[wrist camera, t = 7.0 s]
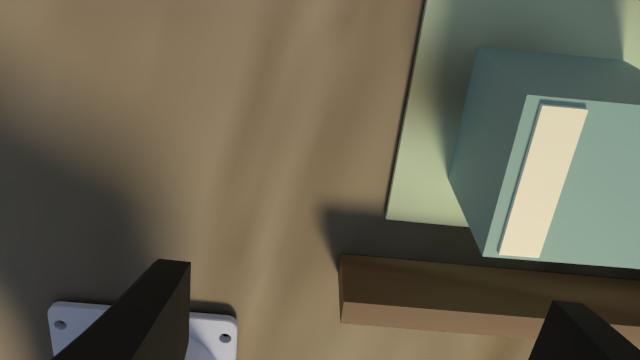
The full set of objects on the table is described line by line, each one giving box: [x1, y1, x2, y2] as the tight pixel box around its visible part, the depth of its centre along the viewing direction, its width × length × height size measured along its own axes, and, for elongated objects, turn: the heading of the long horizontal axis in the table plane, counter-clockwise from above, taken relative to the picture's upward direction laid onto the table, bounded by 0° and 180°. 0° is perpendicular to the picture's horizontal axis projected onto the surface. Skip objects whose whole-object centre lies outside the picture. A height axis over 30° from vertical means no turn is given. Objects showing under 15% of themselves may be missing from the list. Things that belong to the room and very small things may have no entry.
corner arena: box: [338, 0, 640, 348], centre depth 19 cm, size 15×14×3 cm
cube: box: [448, 46, 640, 269], centre depth 18 cm, size 5×5×5 cm
